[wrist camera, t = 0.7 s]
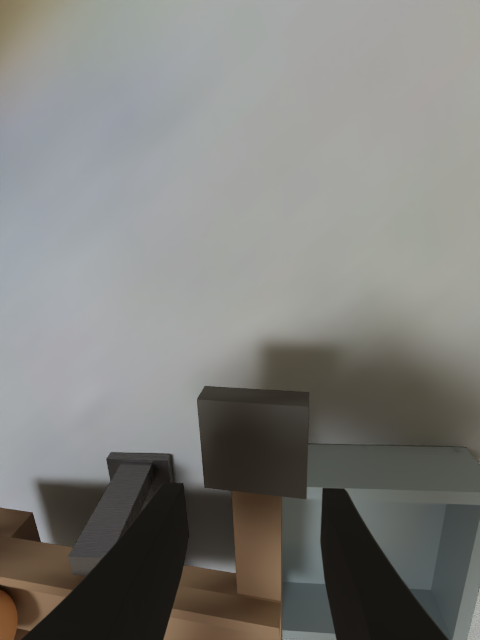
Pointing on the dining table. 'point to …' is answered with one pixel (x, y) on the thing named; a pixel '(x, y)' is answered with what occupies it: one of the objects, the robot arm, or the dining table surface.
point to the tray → (389, 530)
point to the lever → (248, 519)
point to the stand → (119, 505)
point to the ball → (7, 617)
